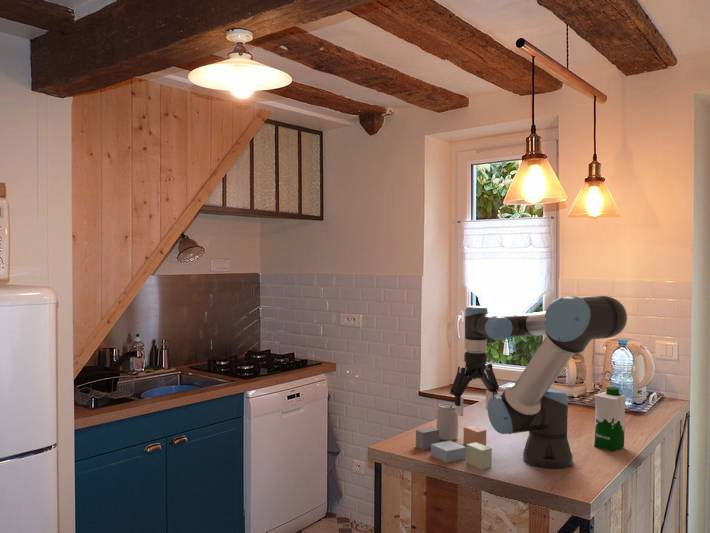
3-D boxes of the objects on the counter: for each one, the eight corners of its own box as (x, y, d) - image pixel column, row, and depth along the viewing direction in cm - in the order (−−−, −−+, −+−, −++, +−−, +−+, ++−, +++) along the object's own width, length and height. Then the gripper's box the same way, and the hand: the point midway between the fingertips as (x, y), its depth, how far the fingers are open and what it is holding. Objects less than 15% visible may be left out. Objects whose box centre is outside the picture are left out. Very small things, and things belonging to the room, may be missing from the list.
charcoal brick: (431, 444, 209) (432, 426, 209) (439, 447, 206) (439, 429, 206) (415, 447, 205) (415, 429, 205) (422, 450, 202) (423, 432, 202)
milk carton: (627, 447, 206) (628, 389, 206) (614, 453, 200) (615, 393, 200) (603, 441, 213) (604, 385, 212) (590, 446, 207) (590, 388, 206)
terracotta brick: (486, 447, 205) (486, 430, 205) (477, 449, 203) (477, 432, 203) (472, 442, 211) (472, 425, 211) (463, 444, 209) (463, 426, 209)
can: (457, 442, 211) (457, 408, 210) (435, 441, 212) (436, 407, 212) (458, 436, 218) (458, 403, 218) (437, 434, 220) (437, 402, 219)
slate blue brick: (466, 459, 194) (466, 447, 194) (446, 463, 190) (446, 451, 190) (449, 452, 201) (450, 440, 201) (430, 456, 197) (431, 444, 197)
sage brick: (491, 467, 186) (491, 448, 186) (481, 470, 184) (482, 450, 184) (475, 460, 192) (476, 442, 192) (466, 463, 190) (466, 444, 190)
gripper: (494, 346, 216) (493, 405, 217) (440, 352, 203) (439, 414, 204) (509, 349, 210) (508, 410, 211) (454, 356, 197) (453, 420, 198)
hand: (474, 412), depth 207 cm, fingers open, 13 cm apart
